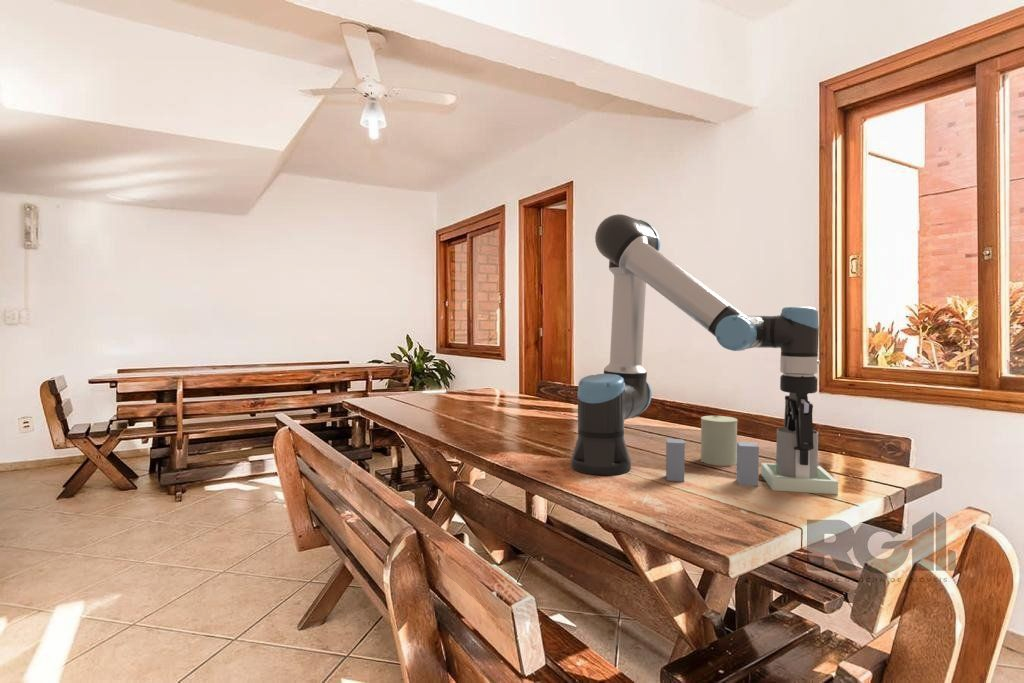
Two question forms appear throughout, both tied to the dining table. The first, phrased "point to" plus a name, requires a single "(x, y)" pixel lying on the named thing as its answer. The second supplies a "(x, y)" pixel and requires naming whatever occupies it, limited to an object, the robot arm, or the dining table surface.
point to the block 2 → (747, 463)
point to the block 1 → (675, 459)
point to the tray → (799, 481)
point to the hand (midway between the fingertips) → (796, 472)
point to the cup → (793, 453)
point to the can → (719, 440)
